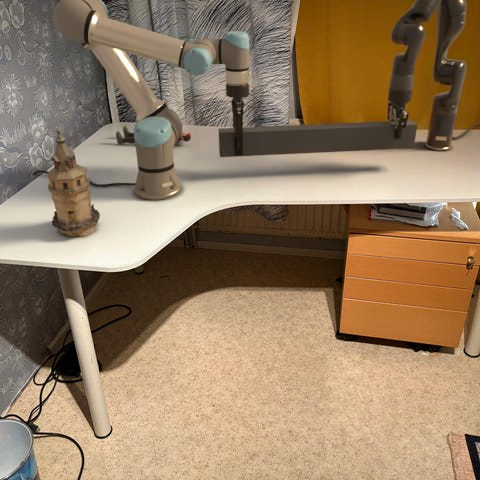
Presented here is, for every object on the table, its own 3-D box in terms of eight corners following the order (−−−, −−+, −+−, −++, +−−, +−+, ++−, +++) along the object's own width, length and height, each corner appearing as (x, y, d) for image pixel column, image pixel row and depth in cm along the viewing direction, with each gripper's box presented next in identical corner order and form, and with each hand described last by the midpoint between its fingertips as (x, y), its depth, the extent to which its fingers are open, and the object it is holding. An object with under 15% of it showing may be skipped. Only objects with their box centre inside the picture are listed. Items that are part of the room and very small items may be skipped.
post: (220, 157, 181) (219, 133, 177) (219, 152, 185) (218, 128, 181) (413, 148, 186) (417, 124, 182) (408, 143, 190) (412, 120, 186)
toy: (131, 119, 231) (198, 119, 225) (133, 133, 234) (199, 134, 228) (106, 139, 209) (180, 139, 203) (109, 154, 212) (182, 155, 206)
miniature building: (80, 214, 164) (63, 117, 149) (111, 225, 157) (96, 125, 142) (44, 231, 154) (22, 130, 140) (75, 244, 147) (55, 139, 133)
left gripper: (251, 89, 164) (251, 161, 176) (246, 76, 180) (246, 142, 191) (227, 90, 164) (228, 162, 175) (224, 77, 180) (225, 143, 191)
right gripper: (420, 91, 172) (412, 142, 180) (404, 81, 184) (397, 129, 192) (397, 92, 171) (390, 143, 179) (382, 82, 183) (377, 130, 192)
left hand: (237, 152), depth 183 cm, fingers closed on post, 5 cm apart
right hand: (394, 136), depth 186 cm, fingers closed on post, 5 cm apart
